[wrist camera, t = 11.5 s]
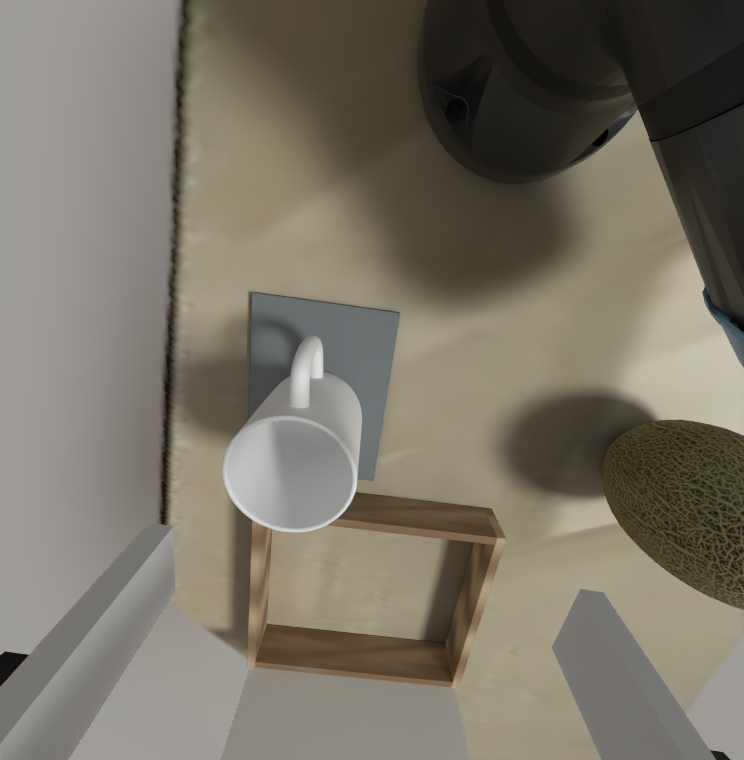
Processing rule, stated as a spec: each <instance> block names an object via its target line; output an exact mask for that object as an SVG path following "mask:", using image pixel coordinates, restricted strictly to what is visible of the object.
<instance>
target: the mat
mask: <svg viewBox="0 0 744 760" xmlns="http://www.w3.org/2000/svg"><path fill="white" fill-rule="evenodd" d="M399 316H400V313H399V312H392V311H385V310H378V309H371V308H364V307H357V306H349V305H342V304H335V303H328V302H321V301H314V300H307V299H299V298H292V297H285V296H278V295H271V294H264V293H257V292H254V293H252V322H251V358H250V393H249V419H250V417H251V416H252V415H253V414H254V413H255V412H256V410H257V409H258V408H259V407H260V406H261V404H262V403H263V402H264V401H265V400H266V398H267V397H268V396H269V395H270V394H271V393H272V391H273V390H274V389H275V388H276V387H277V386H278V385H279V384H280V383H281V382H282V381H283V380H285V379H286V378H288V377H290V375H291V369H292V364H293V361H294V357H295V355H296V352H297V350H298V348H299V346H300V344H301V343H302V342H303V340H304V339H305V338H306V337H308V336H311V335H314V336H317V337H318V338H319V339H320V340H321V342H322V346H323V372H327V373H330V374H333V375H335V376H337V377H339V378H341V379H342V380H343V381H345V382H346V383H347V384H348V385H349V386H350V387H351V388H352V390H353V391H354V392H355V394H356V396H357V398H358V400H359V402H360V406H361V411H362V429H361V441H360V453H359V465H358V477H357V479H363V480H371V481H373V478H374V472H375V466H376V460H377V453H378V447H379V441H380V435H381V428H382V422H383V416H384V410H385V403H386V397H387V391H388V385H389V378H390V372H391V366H392V360H393V353H394V347H395V341H396V335H397V329H398V322H399Z"/></svg>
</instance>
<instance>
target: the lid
mask: <svg viewBox="0 0 744 760" xmlns="http://www.w3.org/2000/svg"><path fill="white" fill-rule="evenodd" d="M221 760H470V758H469V753H468V748H467V743H466V738H465V733H464V727H463V722H462V717H461V712H460V707H459V702H458V697H457V691H456V688H451V687H441V686H432V685H422V684H412V683H402V682H393V681H383V680H373V679H363V678H354V677H344V676H334V675H324V674H314V673H305V672H295V671H285V670H275V669H266V668H256V667H250V668H249V672H248V675H247V678H246V681H245V684H244V687H243V691H242V694H241V697H240V700H239V703H238V707H237V710H236V713H235V716H234V720H233V722H232V726H231V729H230V732H229V735H228V738H227V742H226V745H225V748H224V751H223V755H222V757H221Z"/></svg>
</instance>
